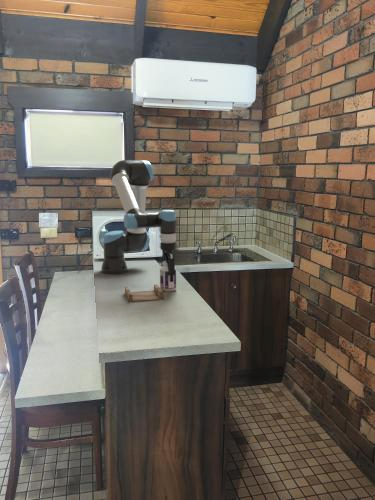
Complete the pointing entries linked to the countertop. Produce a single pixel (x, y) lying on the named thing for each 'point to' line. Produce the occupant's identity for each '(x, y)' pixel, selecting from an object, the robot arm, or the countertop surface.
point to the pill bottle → (166, 278)
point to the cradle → (144, 295)
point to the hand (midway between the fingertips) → (168, 284)
